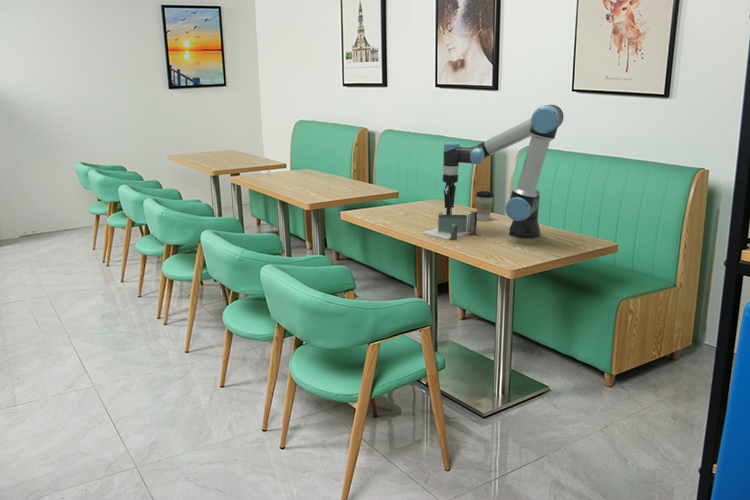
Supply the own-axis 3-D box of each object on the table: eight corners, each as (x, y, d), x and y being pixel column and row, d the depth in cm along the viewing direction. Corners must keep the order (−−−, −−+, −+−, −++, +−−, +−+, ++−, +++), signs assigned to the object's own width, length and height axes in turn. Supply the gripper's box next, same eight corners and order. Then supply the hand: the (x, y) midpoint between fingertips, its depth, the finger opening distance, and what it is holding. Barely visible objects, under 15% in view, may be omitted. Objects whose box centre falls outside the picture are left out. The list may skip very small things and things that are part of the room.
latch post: (456, 239, 301) (457, 224, 299) (453, 240, 299) (454, 225, 297) (454, 238, 302) (454, 223, 300) (450, 239, 300) (451, 224, 298)
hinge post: (476, 234, 310) (478, 211, 306) (473, 235, 308) (474, 212, 305) (472, 233, 311) (473, 211, 308) (469, 234, 310) (470, 211, 307)
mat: (469, 233, 311) (469, 232, 311) (447, 239, 300) (447, 238, 300) (442, 227, 323) (442, 226, 323) (421, 233, 312) (421, 232, 312)
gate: (470, 231, 312) (471, 212, 309) (471, 232, 310) (472, 213, 308) (438, 230, 313) (438, 211, 310) (438, 231, 311) (438, 212, 308)
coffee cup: (492, 222, 336) (494, 194, 332) (474, 221, 338) (475, 193, 334) (492, 218, 346) (494, 191, 341) (474, 217, 347) (476, 190, 343)
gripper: (447, 171, 313) (445, 216, 320) (439, 175, 302) (437, 222, 308) (461, 172, 310) (459, 218, 317) (453, 176, 299) (451, 224, 305)
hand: (448, 220), depth 313 cm, fingers closed
